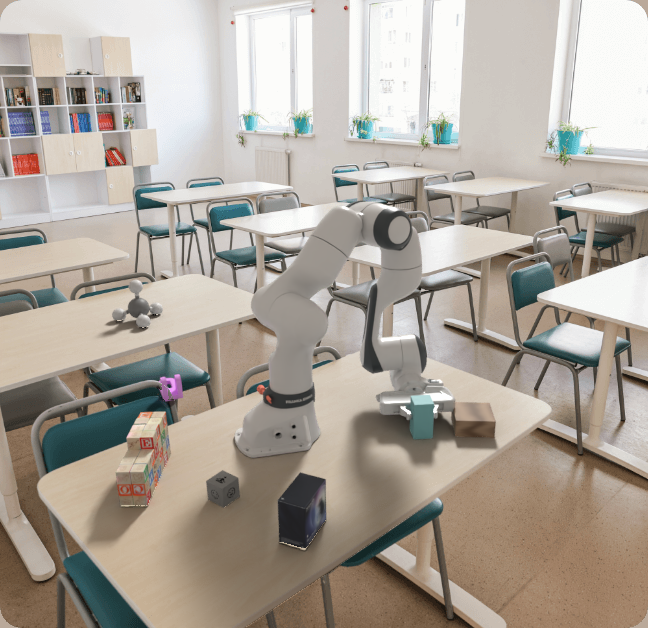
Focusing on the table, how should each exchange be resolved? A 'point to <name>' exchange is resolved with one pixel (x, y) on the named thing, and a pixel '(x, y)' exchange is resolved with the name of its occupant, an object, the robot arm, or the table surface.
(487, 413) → the walnut base
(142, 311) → the molecule model
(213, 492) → the dice cube
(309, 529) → the small box
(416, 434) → the teal pillar
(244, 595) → the table surface
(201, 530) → the table surface
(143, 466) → the stack of blocks
